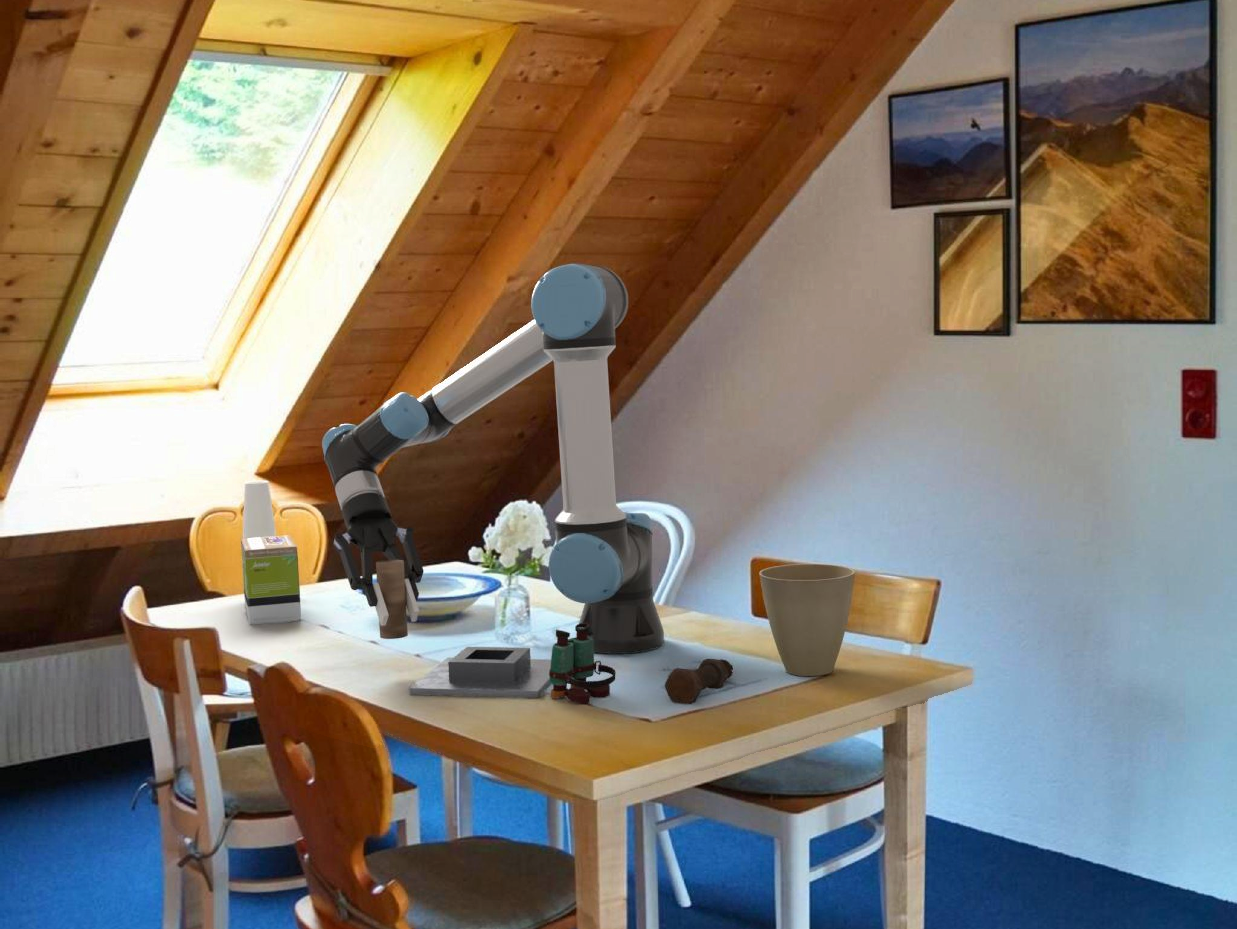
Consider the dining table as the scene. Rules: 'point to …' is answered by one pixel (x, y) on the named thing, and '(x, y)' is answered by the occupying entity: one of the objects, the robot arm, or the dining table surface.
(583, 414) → the robot arm
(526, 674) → the socket
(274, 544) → the tea box
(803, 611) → the plant pot
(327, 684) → the dining table surface
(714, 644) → the dining table surface
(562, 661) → the binoculars
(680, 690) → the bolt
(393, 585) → the peg
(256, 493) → the grey tapered column
